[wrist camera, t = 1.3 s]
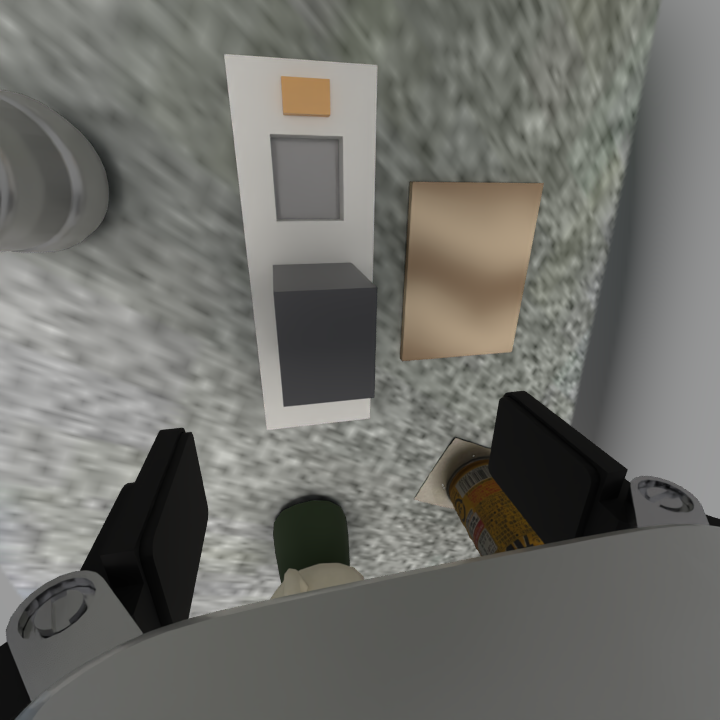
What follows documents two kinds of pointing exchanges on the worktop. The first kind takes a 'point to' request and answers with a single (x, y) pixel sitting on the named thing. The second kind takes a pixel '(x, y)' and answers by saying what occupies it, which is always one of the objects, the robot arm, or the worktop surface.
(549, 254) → the worktop surface
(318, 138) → the power strip
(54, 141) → the plastic bottle
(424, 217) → the cork pad
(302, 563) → the character mug
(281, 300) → the block
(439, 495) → the condiment
